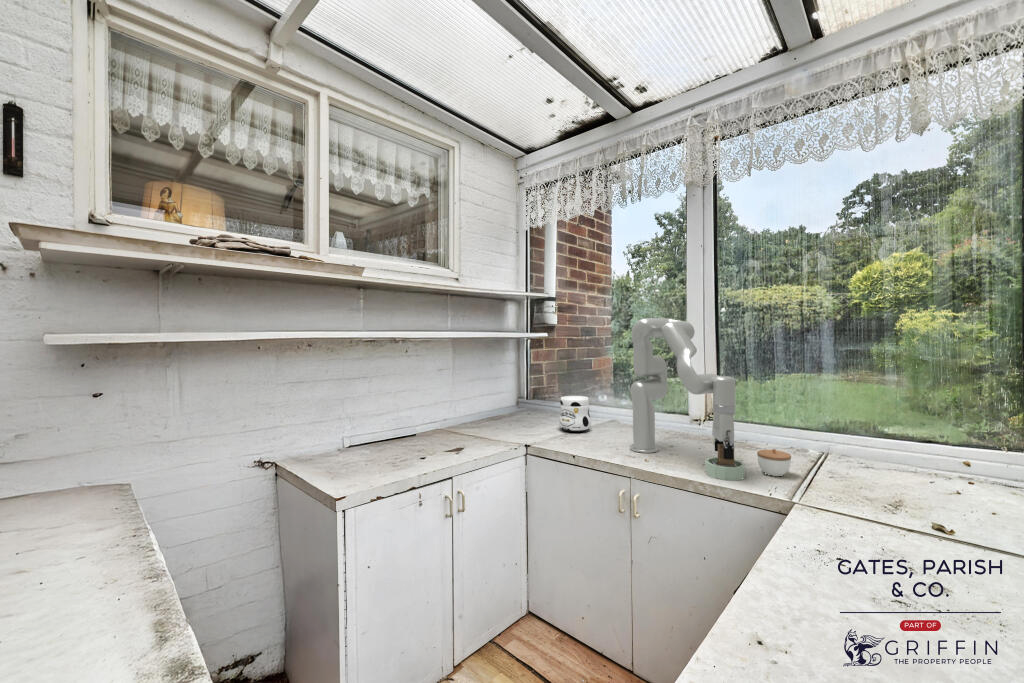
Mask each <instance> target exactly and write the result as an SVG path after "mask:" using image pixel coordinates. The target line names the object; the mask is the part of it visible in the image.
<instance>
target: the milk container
mask: <svg viewBox="0 0 1024 683" xmlns="http://www.w3.org/2000/svg"><path fill="white" fill-rule="evenodd" d="M589 401H590V399H589V397H588V396H586V395H585V396H584V395H564V396H561V397H560V401H559V402H560V406H559V407H560V413H559V414H560V415H559V419H558V424H559V428H560V429H561V430H562V431H565V432H569V433H570V432H571V433H572V432H573V433H582V432H586V431H588V430H590V429H591V426H592V420H591V416H590V402H589Z"/></svg>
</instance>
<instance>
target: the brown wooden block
mask: <svg viewBox="0 0 1024 683" xmlns="http://www.w3.org/2000/svg"><path fill="white" fill-rule="evenodd" d="M723 448H725V447H724V444H718V451H717V457H718V465H734V459H735V448H734V449H733V459H724V458H723Z"/></svg>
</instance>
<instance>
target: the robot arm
mask: <svg viewBox="0 0 1024 683" xmlns="http://www.w3.org/2000/svg"><path fill="white" fill-rule="evenodd" d="M695 332H696V331H695V328H694V326H693V324H691V322H688V321H685V320H679V319H678V320H677V319H672V318H667V317H666V318H665V317H663V318H662V317H647V318H641V319H639V320H638V321H636V322H635V323H634V324H633V326H632V329H631V340H632V346H633V347H632V349H633V352H632V354H633V359H632V360H633V363H632V364H633V371H634V372H633V373H634V374H635V376H637V377H639V378H649V379H640V380H636V381H634V382H633V383H632V384H631V386H630V389H629V390H630V391H629V392H630V398H631V403H632V444H630V445H629V450H631V451H633V452H637V453H642V454H643V453H644V454H650V453H651V454H652V453H657V452H659V450H660V448H659V446H657V445H656V425H655V424H656V416H655V408H654V405H653V403H652V401H656V400H662V399H664V398H665V397H666V395H667V393H668V367H667V366H668V365H667V362H666V360H665V359H664V357H662V356H659V355H654V349H653V348H654V347H653V344H652V342H651V340H650V338H663V339H664V340H665V342H666V343H667V346H668V347H669V348H670V349H671V351H672V353H673V354H674V356H675V357H676V372H677V376H678V378H679V380H680V382H681V383H682V385H683V386H684V387H685V390H687V391H688V392H689V394H692V395H697V396H698V395H705V394H706V395H708V394H712V413H713V417H712V429H711V430H712V431H711V435H712V437H714V451H715V452H718V444H724V447H725V448H723V458H724V459H733V449H734V450H735V444H734V442H735V422H734V420H735V418H734V416H735V415H736V379H735V378H734V377H732V376H727V375H717V374H714V373H701V374H697V371H695V369H694V367H693V365H692V362H691V359H692V358H693V357H694V356H695V355H696V354H697V352H698V351H697V347H696V345H695V344H694V343H693V341H692V339H693V338H694V336H695Z"/></svg>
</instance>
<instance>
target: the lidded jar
mask: <svg viewBox="0 0 1024 683" xmlns="http://www.w3.org/2000/svg"><path fill="white" fill-rule="evenodd" d="M756 453H757V463H758V466H759V469H760V470H761V471H762V472H765V473H766V474H769V475H773V476H772V477H774V476H782V477H784V476H783V475H786V474H787V473H788V472H789V471H790V468H791V462H792V455H791V454H790V453H788V452H785V451H781V450H776V448H772V449H759V450H758V451H756ZM765 473H764V474H765ZM766 474H765V475H766ZM769 475H768V476H769Z"/></svg>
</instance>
